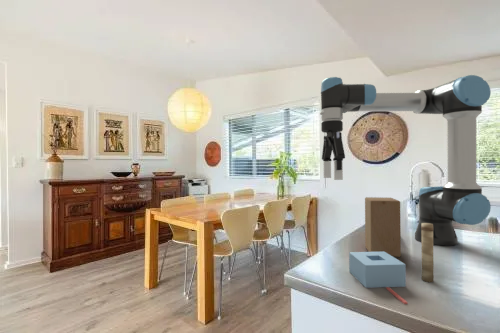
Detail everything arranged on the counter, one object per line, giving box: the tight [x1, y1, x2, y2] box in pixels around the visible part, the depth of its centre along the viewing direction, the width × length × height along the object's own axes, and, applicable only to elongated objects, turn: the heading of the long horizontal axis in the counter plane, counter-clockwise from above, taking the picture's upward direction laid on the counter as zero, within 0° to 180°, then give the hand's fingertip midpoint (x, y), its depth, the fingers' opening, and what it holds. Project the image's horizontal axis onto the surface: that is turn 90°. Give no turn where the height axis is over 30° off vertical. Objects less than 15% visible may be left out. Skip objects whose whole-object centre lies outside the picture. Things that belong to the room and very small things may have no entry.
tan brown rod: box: [421, 223, 435, 283], centre depth 78 cm, size 3×3×16 cm
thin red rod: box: [385, 287, 408, 305], centre depth 69 cm, size 1×8×1 cm, turn 2°
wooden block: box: [364, 196, 402, 258], centre depth 103 cm, size 10×10×20 cm
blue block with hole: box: [348, 251, 407, 289], centre depth 79 cm, size 11×11×6 cm
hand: (332, 178), depth 101 cm, fingers open, 13 cm apart
